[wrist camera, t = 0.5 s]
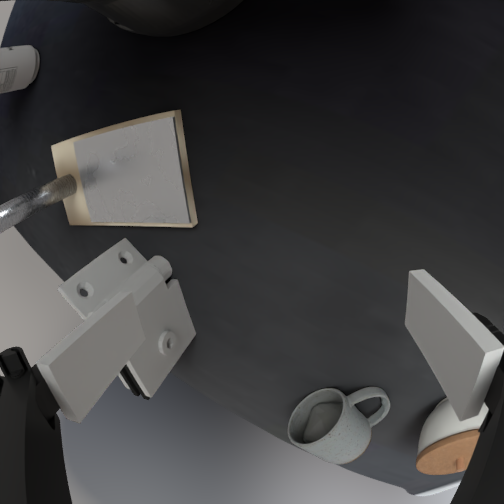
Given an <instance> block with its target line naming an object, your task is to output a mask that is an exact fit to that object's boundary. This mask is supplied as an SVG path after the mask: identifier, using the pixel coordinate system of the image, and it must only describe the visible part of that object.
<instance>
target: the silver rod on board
mask: <svg viewBox="0 0 504 504" xmlns="http://www.w3.org/2000/svg"><path fill="white" fill-rule="evenodd" d="M73 144H74V150H75V155H76V160H77V165H78V170H79V174H80V179H81V183H82V188H83V192H84V196H85V200H86V204H87V208H88V212H89V215H90V219H91V222H139V223H191V217H190V211H189V206H188V200H187V194H186V188H185V182H184V176H183V170H182V163H181V157H180V150H179V143H178V136H177V129H176V122H175V116H174V117H169V118H164V119H159V120H154V121H150V122H145V123H141V124H137V125H133V126H129V127H125V128H121V129H117V130H113V131H109V132H106V133H102V134H99V135H95V136H92V137H89V138H86V139H82V140H79V141H76V142H73ZM76 191H77V183H76V180H75V178H74V177H73V176H72V175H71V174H67V175H65V176H62V177H60V178H58V179H55V180H53V181H51V182H48V183H46V184H44V185H42V186H39V187H37V188H35V189H33V190H31V191H28V192H26V193H24V194H22V195H20V196H18V197H16V198H14V199H12V200H10V201H8V202H6V203H4V204H2V205H0V233H2V232H4V231H5V230H7V229H8V228H10V227H12V226H14V225H15V224H17V223H19V222H21V221H23V220H24V219H26V218H28V217H30V216H32V215H33V214H35V213H37V212H39V211H41V210H43V209H45V208H47V207H49V206H51V205H53V204H55V203H57V202H59V201H61V200H63V199H65V198H67V197H69V196H71V195H73V194H75V193H76Z"/></svg>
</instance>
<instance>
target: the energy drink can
mask: <svg viewBox="0 0 504 504" xmlns="http://www.w3.org/2000/svg"><path fill="white" fill-rule="evenodd" d="M39 63H40V58H39V53H38V51H37V50H36V49H34V48H33V47H32V46H31V45H25V46H14V47H6V48H0V94H1V93H6V92H10V91H15V90H20V89H24V88H26V87H27V86H28V85H29V84H30V83H32V82H33V81H34V79H35V78H36V75H37V73H38V69H39Z"/></svg>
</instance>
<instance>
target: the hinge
mask: <svg viewBox="0 0 504 504" xmlns="http://www.w3.org/2000/svg"><path fill="white" fill-rule="evenodd" d="M122 257H123V258H125V259H126V260H127V263H126V264H124V263H122V262H121V261H120V258H122ZM171 274H172V268H171V266H170V263H169V262H168V261H167V260H166V259H165V258H163V257H162V256H154V257H152V258H151V259H150V260H149V261H147V260H146V259H145V258H144V257H143V256H142V255H141V254H140V253H139V252H138V251H137V249H136V248H135V247H134V246H133V245H132V244H131V243H130V242H129V241H128V240H127V239H126V238H124V239H123V240H121V241H120V242H118V243H117V244H115V245H114V246H113V247H111V248H110V249H108V250H107V251H106V252H104V253H103V254H101V255H100V256H99V257H97V258H96V259H95V260H93V261H92V262H90V263H89V264H88V265H86V266H85V267H84V268H82V269H81V270H80V271H78V272H77V273H76V274H74V275H73V276H72V277H71V278H69V279H68V280H67V281H65V282H64V283H63V284H61V285H60V286H59V289H58V291H59V292H60V294H61V295H62V296H63V297H64V299H65V300H66V301H67V302H68V303H69V304H70V305H71V307H72V308H73V309H74V310H75V311H76V312H77V313H78V314H79V316H80V317H81V318H82V319H83V320H84V321H85V320H86V319H87V318H88V317H89V316H91V315H92V314H93V313H94V312H95V311H97V310H98V309H99V308H100V307H102V306H103V305H104V304H105V303H107V302H108V301H109V300H110V299H111V298H113V297H114V296H115V295H116V294H118V293H119V292H132V294H133V297H134V301H135V305H136V308H137V312H138V315H139V319H140V322H141V326H142V329H143V332H144V335H145V341H144V342H143V343H142V344H141V346H140V347H139V348H138V349H137V351H136V352H135V353H134V354H133V356H132V357H131V358H130V359H129V361H128V362H127V363H126V365H125V366H124V367H123V368H122V370H121V371H120V372H119V373H118V376H119V377H120V379H121V381H122V382H123V383H124V385H125V387H126V388H128V389H131V390H132V392H133V393H134V395H136V396H139V395H140V394H141V395H142V396H143V398H144V399H147V400H149V398H150V397H152V396H153V395H154V393H155V392H156V391H157V389H158V388H159V386H160V385H161V383H162V382H163V381H164V379H165V377H166V376H167V375H168V373H169V372H170V371H171V369H172V368H173V366H174V365H175V364H176V362H177V361H178V359H179V358H180V356H181V355H182V354H183V352H184V351H185V349H186V348H187V346H188V345H189V344H190V342H191V341H192V339H193V338H194V336H195V335H196V332H195V329H194V327H193V324H192V321H191V318H190V315H189V312H188V309H187V306H186V303H185V300H184V297H183V294H182V291H181V288H180V285H179V282H178V279H171V280H170V281H169V282H168V283H167V284H166V283H165V281H166V280H167V279H168V278H169V277H171ZM81 289H85V290H87V292H88V296H87V297H84V296H82V295H81V294H80V290H81Z"/></svg>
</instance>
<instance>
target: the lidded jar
mask: <svg viewBox="0 0 504 504" xmlns="http://www.w3.org/2000/svg"><path fill="white" fill-rule="evenodd" d="M488 410H489V409H488V407H487V406H486V404H485V403H484V404H483V406H482V408H481V410H480V412H479V415H478V416H475V417H472V418H469V419H466V420H464V421H459V419H458V417H457V415H456V413H455V411H454V409H453V407H452V405H451V404H450V402H449V400H448V398H447V397H446V398H445V399H443V400H442V401H440V402H439V403H438V404H437V406H436V407H435V409H434V410H433V411H432V412H431V414H430V415H429V416H428V418H427V419H426V421H425V423H424V425H423V427H422V430H421V434H420V438H419V444H418V455H417V459H416V468H417V469H418V470H419V471H420V472H422V473H425V474H431V475H444V474H451V473H456V472H461V471H463V470H466V469H467V467H468V464H469V462H470V459H471V457H472V454H473V452H474V449H475V446H476V444H477V441H478V438H479V435H480V432H478V430H479V428H480V426H481V424H482V422H483V420H484V418H485V416H486V414H487V412H488Z"/></svg>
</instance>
